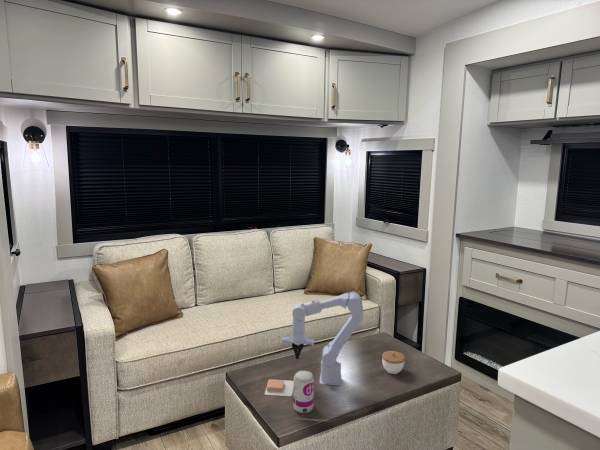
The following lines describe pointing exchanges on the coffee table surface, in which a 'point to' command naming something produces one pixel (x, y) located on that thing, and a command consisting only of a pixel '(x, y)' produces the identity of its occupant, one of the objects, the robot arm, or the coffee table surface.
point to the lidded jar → (393, 361)
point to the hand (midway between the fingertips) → (297, 358)
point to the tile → (275, 385)
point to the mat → (286, 390)
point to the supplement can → (303, 391)
